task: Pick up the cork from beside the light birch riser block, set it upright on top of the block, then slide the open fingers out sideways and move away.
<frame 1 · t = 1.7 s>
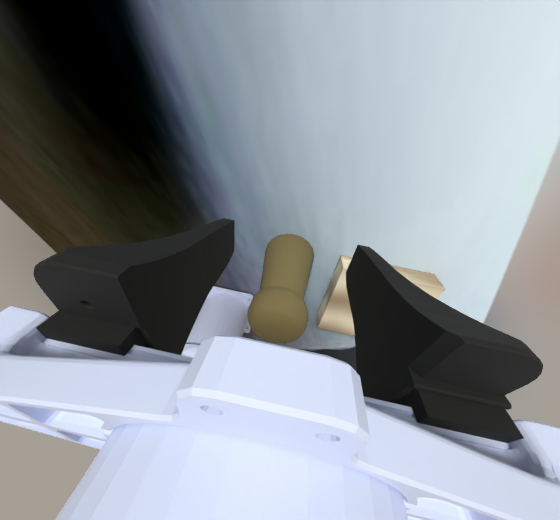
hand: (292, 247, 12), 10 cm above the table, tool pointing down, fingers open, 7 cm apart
birch riser block: (368, 296, 26), on the table
cork: (289, 254, 25), on the table
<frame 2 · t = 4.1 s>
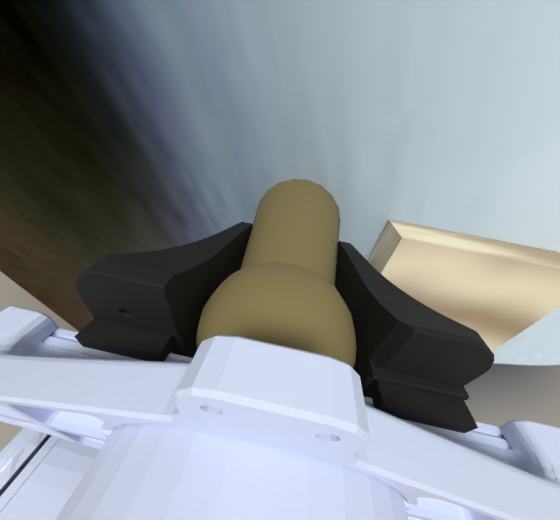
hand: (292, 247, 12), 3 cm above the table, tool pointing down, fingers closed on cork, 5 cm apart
birch riser block: (424, 293, 16), on the table
cork: (296, 221, 14), on the table, touching gripper
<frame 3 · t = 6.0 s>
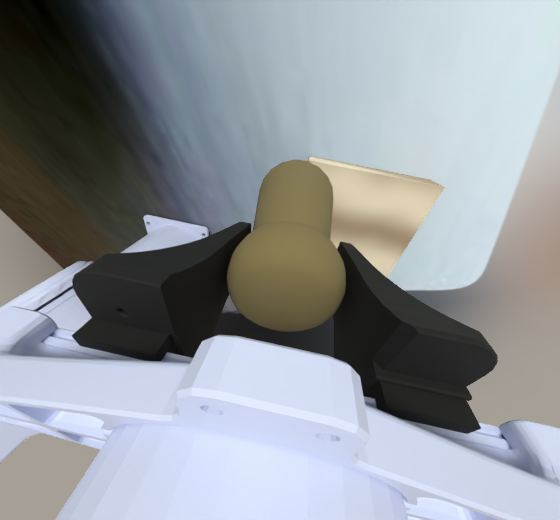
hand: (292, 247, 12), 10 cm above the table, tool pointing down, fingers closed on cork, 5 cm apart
birch riser block: (347, 222, 21), on the table
cork: (295, 199, 16), point 4 cm above the table, touching gripper
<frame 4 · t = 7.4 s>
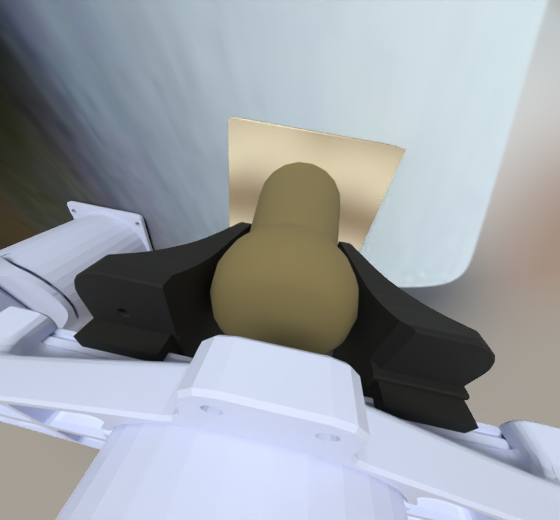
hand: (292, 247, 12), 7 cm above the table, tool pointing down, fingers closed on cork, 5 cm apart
birch riser block: (300, 205, 17), on the table
cork: (298, 205, 15), point 2 cm above the table, touching birch riser block, gripper
when the fingers open (7 cm above the table, at t = 8.0 s): cork stays where it is, resting on birch riser block.
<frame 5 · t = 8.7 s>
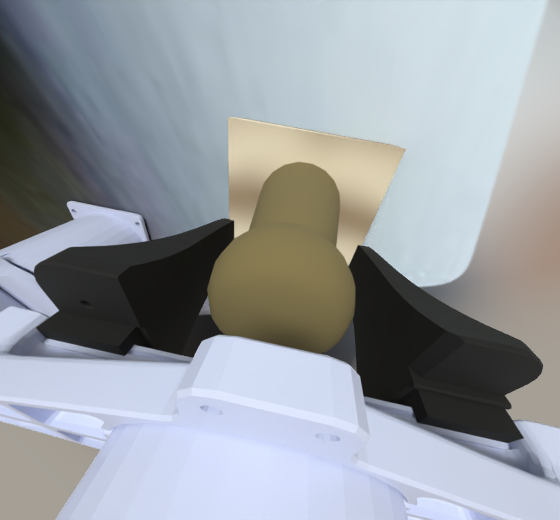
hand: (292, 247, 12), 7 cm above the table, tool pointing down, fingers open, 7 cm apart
birch riser block: (300, 205, 17), on the table
cork: (298, 205, 15), point 2 cm above the table, touching birch riser block
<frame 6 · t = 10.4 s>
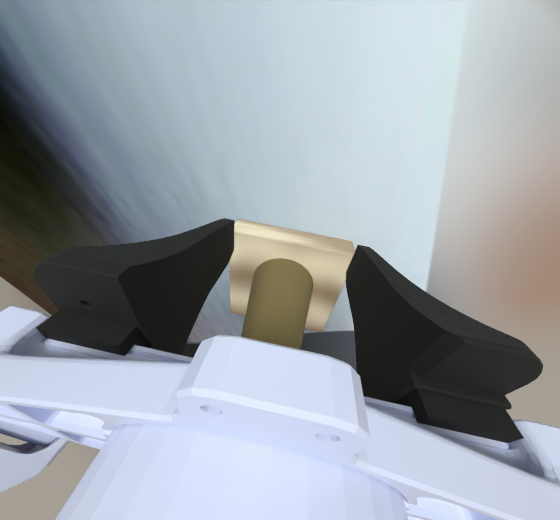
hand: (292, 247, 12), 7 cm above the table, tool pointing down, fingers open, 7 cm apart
birch riser block: (285, 273, 22), on the table
cork: (282, 281, 20), point 2 cm above the table, touching birch riser block
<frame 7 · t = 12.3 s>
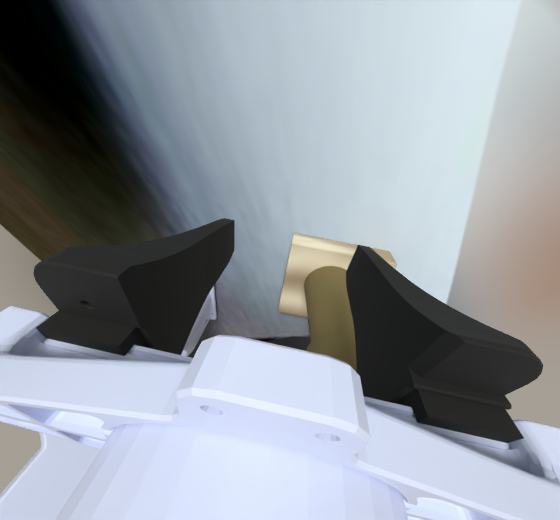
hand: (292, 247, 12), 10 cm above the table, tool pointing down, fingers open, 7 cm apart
birch riser block: (327, 278, 26), on the table
cork: (329, 285, 23), point 2 cm above the table, touching birch riser block
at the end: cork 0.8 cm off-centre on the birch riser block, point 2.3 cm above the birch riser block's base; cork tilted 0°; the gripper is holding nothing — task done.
